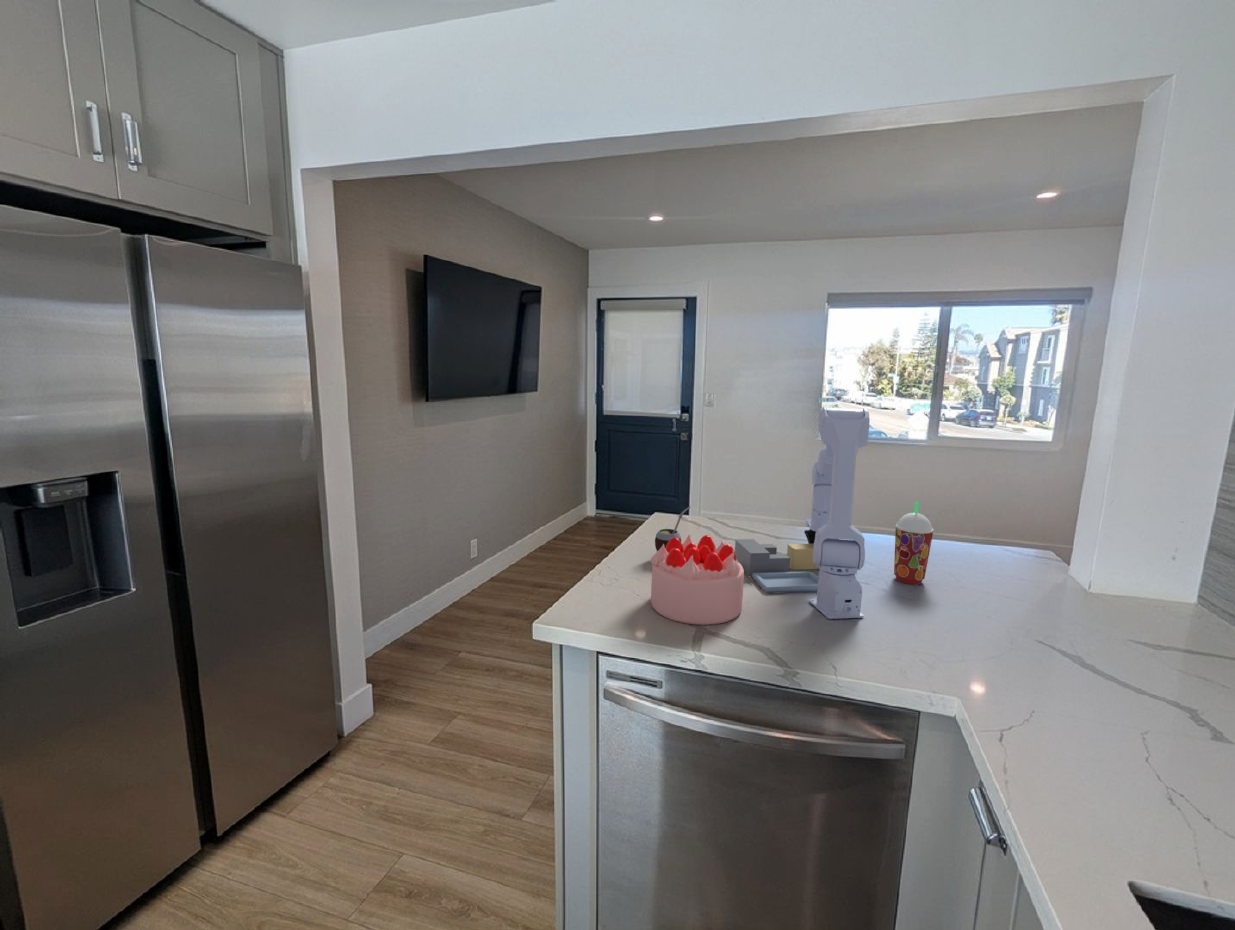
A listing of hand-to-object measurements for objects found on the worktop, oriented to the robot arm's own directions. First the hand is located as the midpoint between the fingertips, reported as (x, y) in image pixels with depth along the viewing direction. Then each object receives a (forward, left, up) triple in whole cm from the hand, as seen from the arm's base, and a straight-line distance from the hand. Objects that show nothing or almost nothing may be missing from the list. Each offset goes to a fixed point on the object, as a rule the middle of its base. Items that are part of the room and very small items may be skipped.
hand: (819, 560), depth 153 cm
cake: (-22, +39, -2) cm, 45 cm away
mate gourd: (+8, +39, -2) cm, 39 cm away
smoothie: (-12, -17, -2) cm, 21 cm away
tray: (-12, +14, -2) cm, 18 cm away
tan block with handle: (0, +3, -2) cm, 3 cm away
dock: (0, +16, -2) cm, 16 cm away
